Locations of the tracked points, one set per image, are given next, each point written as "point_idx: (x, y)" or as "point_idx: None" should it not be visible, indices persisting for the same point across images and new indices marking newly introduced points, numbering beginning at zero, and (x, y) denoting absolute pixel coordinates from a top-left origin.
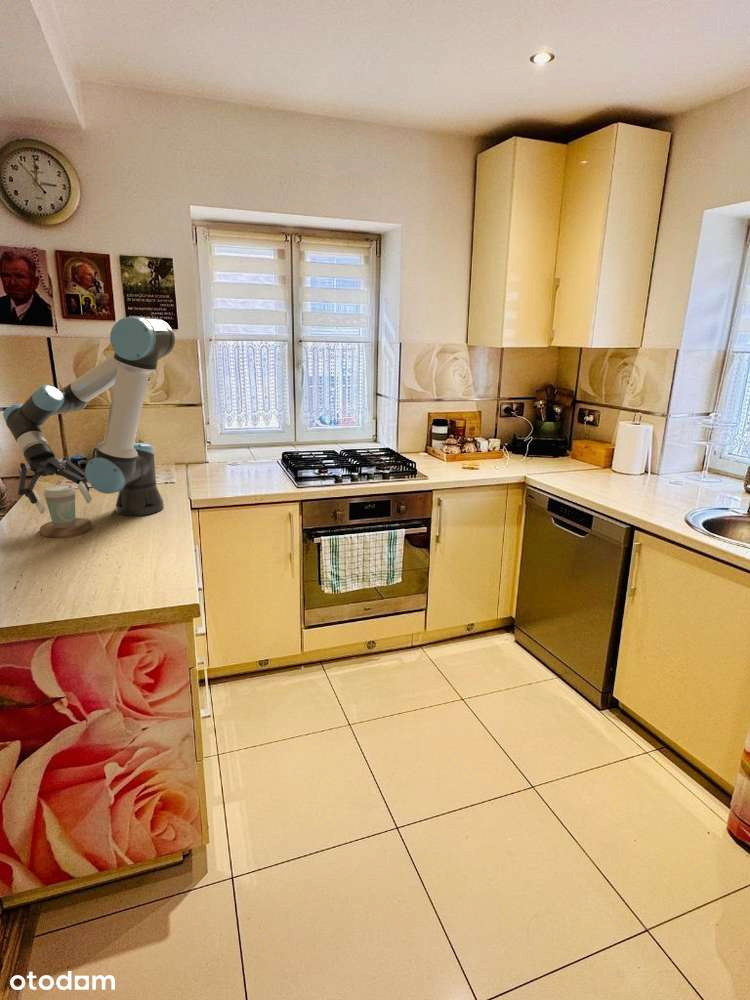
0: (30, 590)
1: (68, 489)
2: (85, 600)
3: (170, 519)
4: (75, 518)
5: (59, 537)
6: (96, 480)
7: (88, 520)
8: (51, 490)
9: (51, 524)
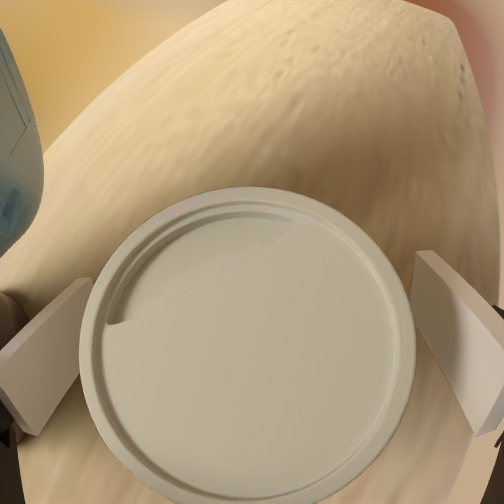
0: (439, 49)
1: (193, 198)
2: (371, 4)
3: None
4: None
5: None
6: (7, 127)
7: None
8: (371, 256)
9: None
